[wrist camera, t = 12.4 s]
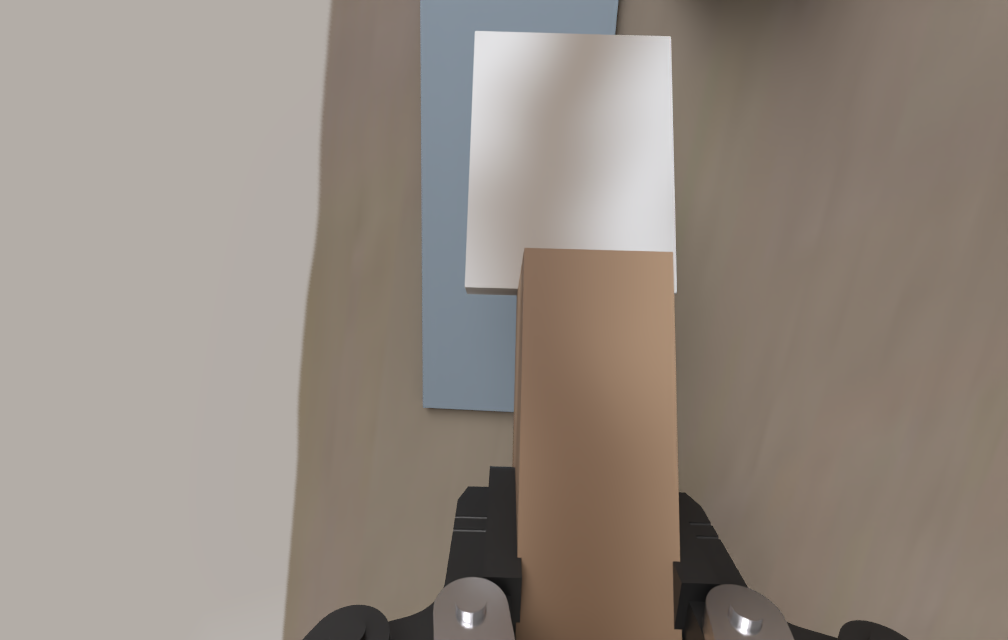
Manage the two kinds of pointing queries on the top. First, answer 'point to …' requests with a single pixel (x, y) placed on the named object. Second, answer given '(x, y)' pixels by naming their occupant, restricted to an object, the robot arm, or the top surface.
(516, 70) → the turner
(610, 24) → the mat
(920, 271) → the top surface
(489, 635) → the robot arm
